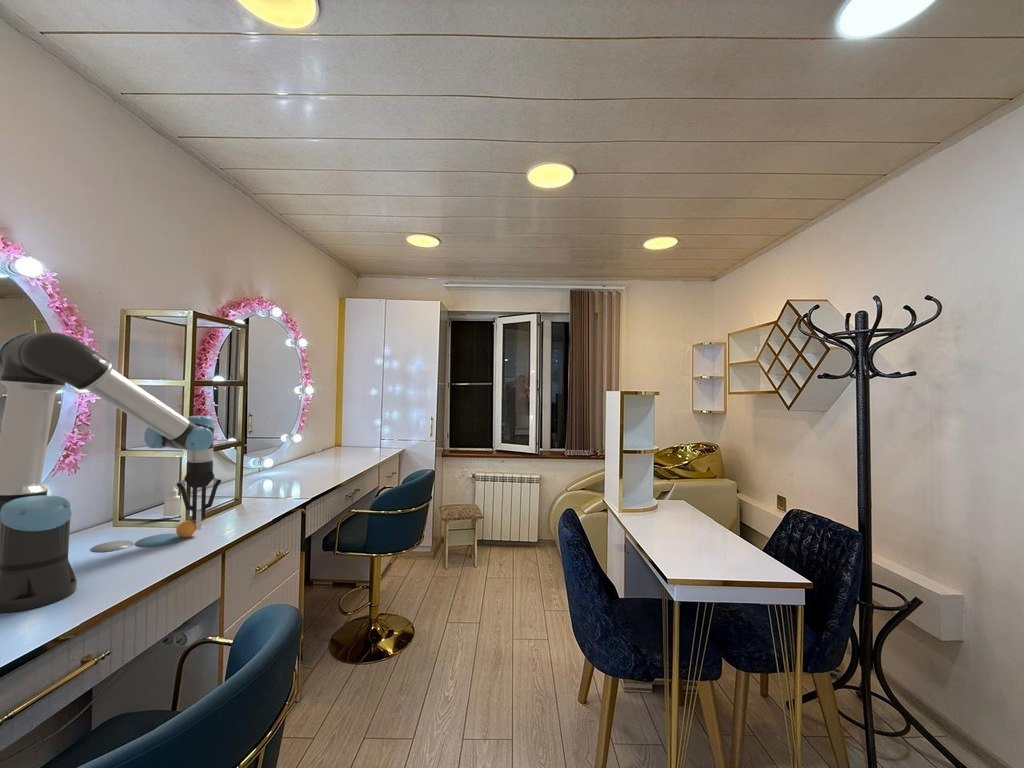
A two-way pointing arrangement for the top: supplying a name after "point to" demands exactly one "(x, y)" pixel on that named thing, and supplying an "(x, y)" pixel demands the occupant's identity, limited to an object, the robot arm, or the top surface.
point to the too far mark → (112, 546)
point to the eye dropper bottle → (172, 503)
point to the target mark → (159, 540)
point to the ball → (186, 529)
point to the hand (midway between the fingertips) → (198, 528)
